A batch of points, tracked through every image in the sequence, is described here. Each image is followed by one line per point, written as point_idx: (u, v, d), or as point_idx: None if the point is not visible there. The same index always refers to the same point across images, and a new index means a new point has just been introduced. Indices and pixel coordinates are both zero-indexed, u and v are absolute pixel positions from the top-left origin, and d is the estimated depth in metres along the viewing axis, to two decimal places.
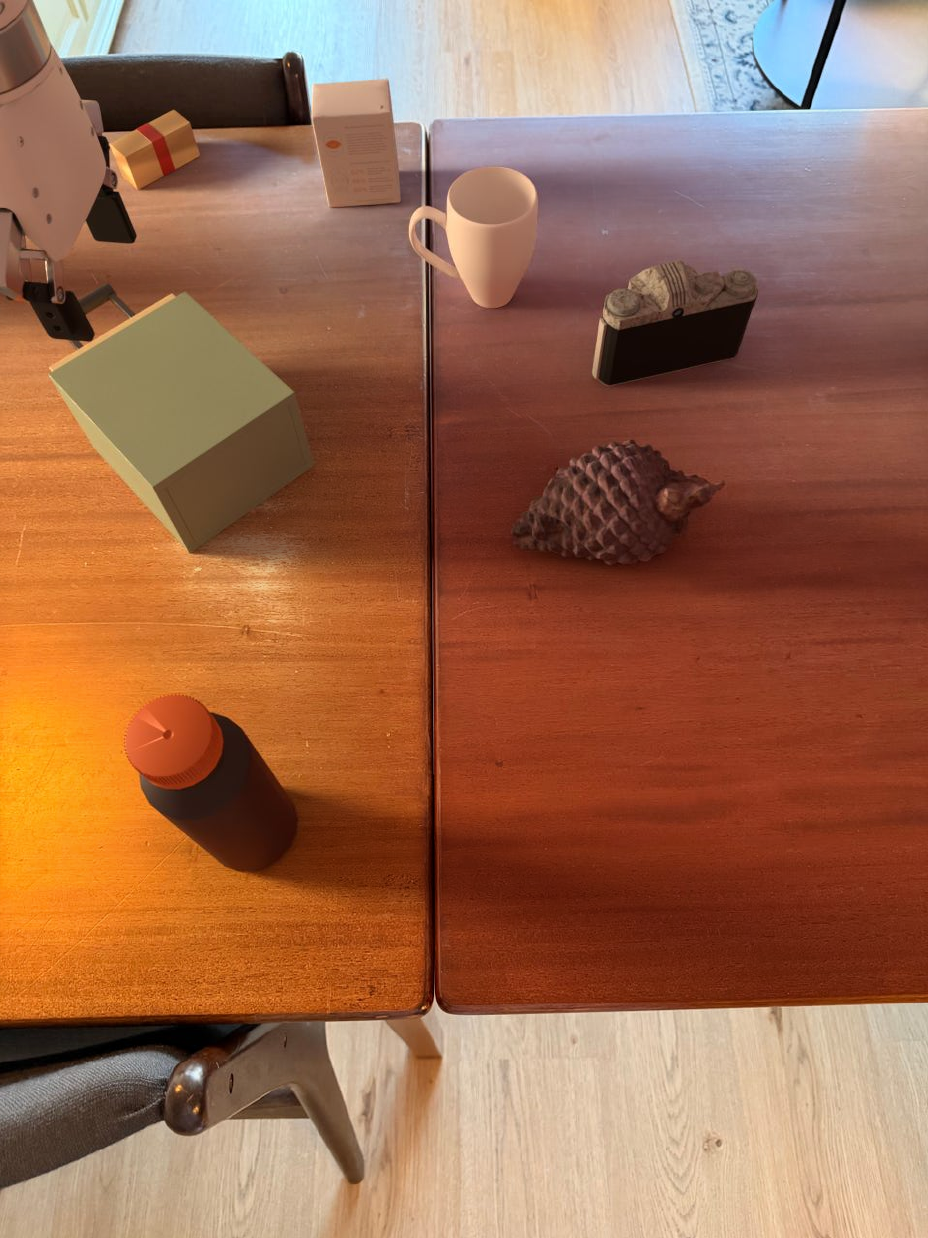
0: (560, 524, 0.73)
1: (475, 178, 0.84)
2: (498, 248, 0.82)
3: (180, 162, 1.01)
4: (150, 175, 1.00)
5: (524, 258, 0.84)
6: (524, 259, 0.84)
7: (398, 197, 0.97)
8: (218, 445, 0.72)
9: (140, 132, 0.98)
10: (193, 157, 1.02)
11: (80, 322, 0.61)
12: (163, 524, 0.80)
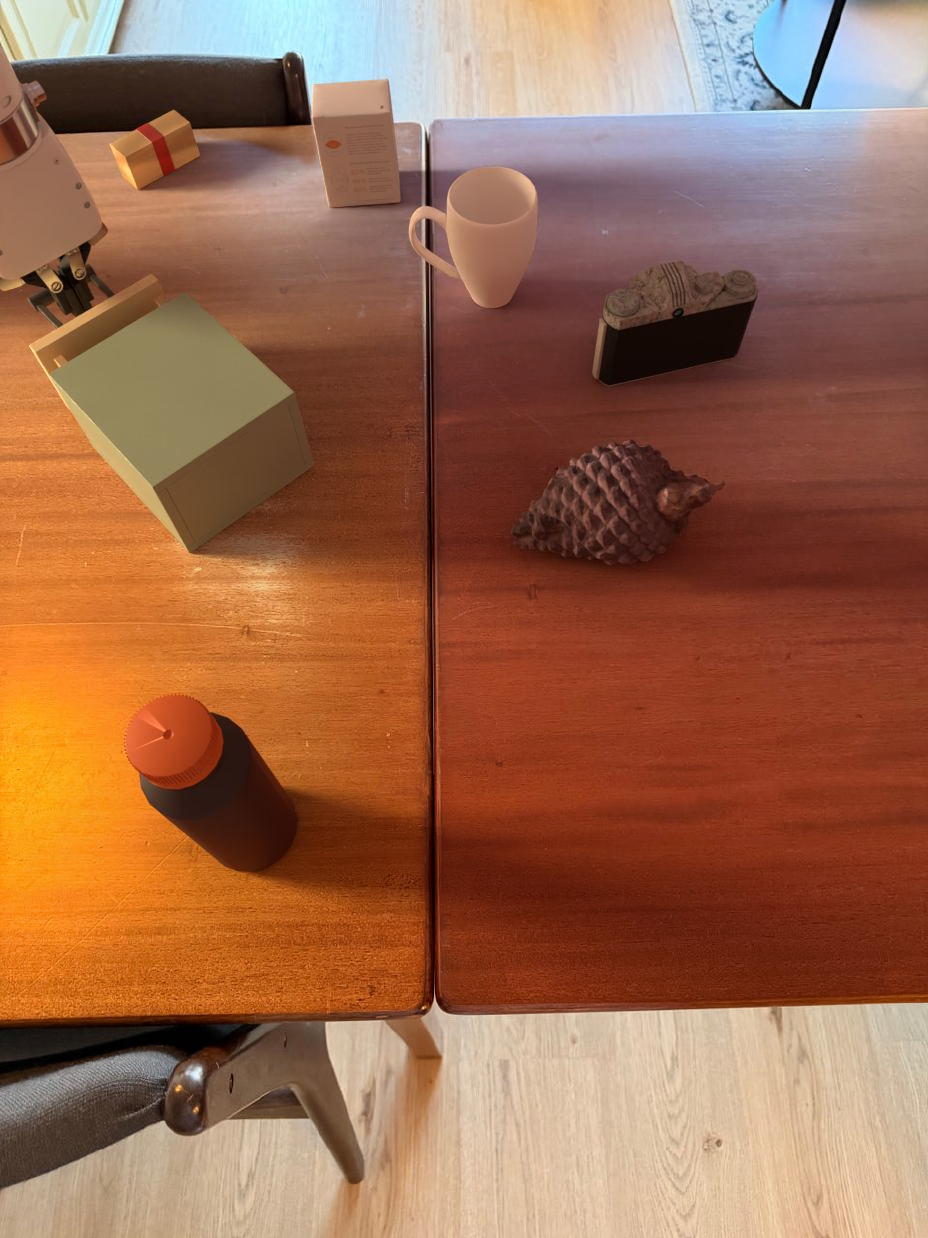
0: (560, 524, 0.73)
1: (475, 178, 0.84)
2: (498, 248, 0.82)
3: (180, 162, 1.01)
4: (150, 175, 1.00)
5: (524, 258, 0.84)
6: (524, 259, 0.84)
7: (398, 197, 0.97)
8: (218, 445, 0.72)
9: (140, 132, 0.98)
10: (193, 157, 1.02)
11: (73, 308, 0.82)
12: (163, 524, 0.80)
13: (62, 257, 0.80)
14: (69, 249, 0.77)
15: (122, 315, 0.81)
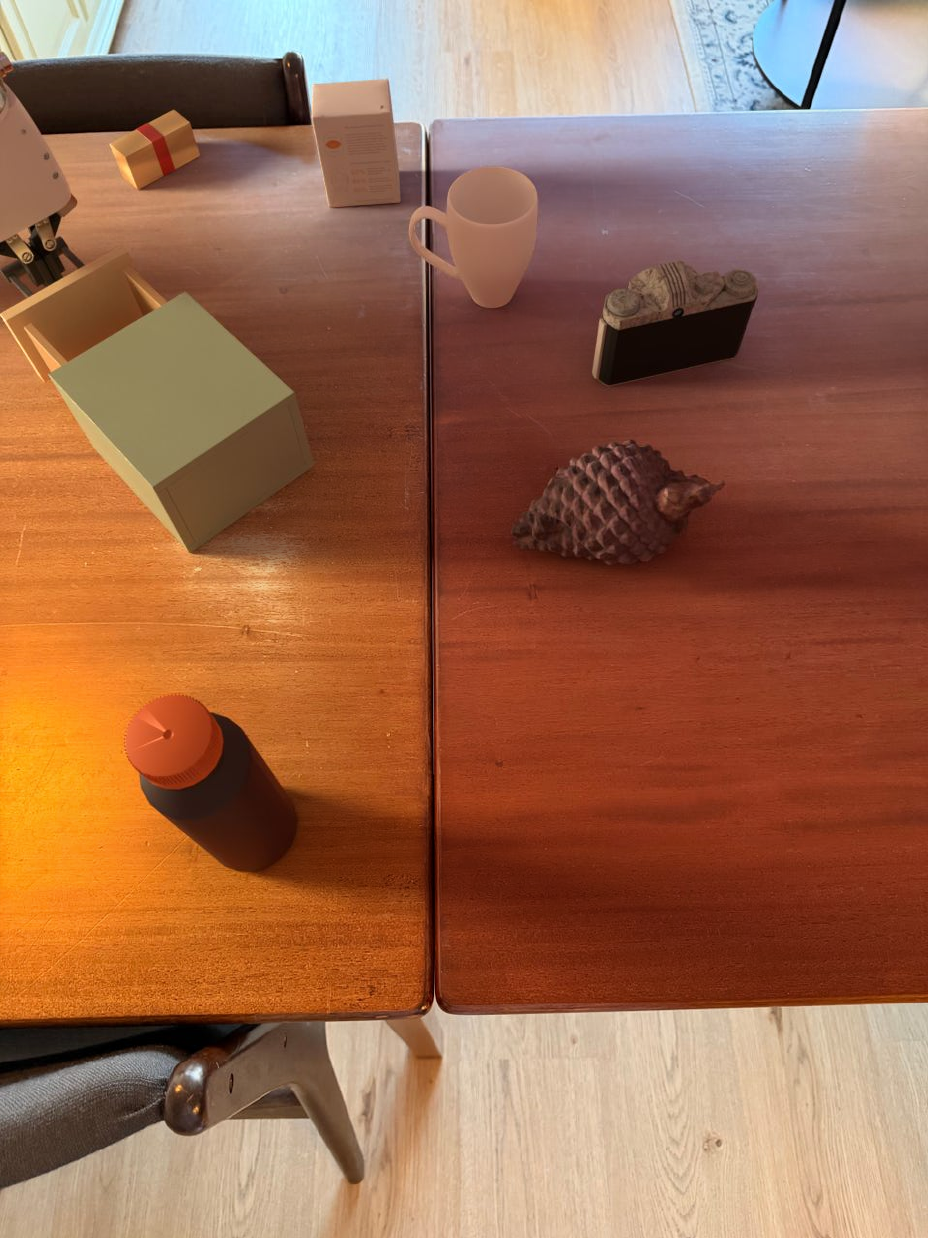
0: (560, 524, 0.73)
1: (475, 178, 0.84)
2: (498, 248, 0.82)
3: (180, 162, 1.01)
4: (150, 175, 1.00)
5: (524, 258, 0.84)
6: (524, 259, 0.84)
7: (398, 197, 0.97)
8: (218, 445, 0.72)
9: (140, 132, 0.98)
10: (193, 157, 1.02)
11: (44, 279, 0.84)
12: (163, 524, 0.80)
13: (33, 228, 0.82)
14: (38, 219, 0.79)
15: (92, 285, 0.83)
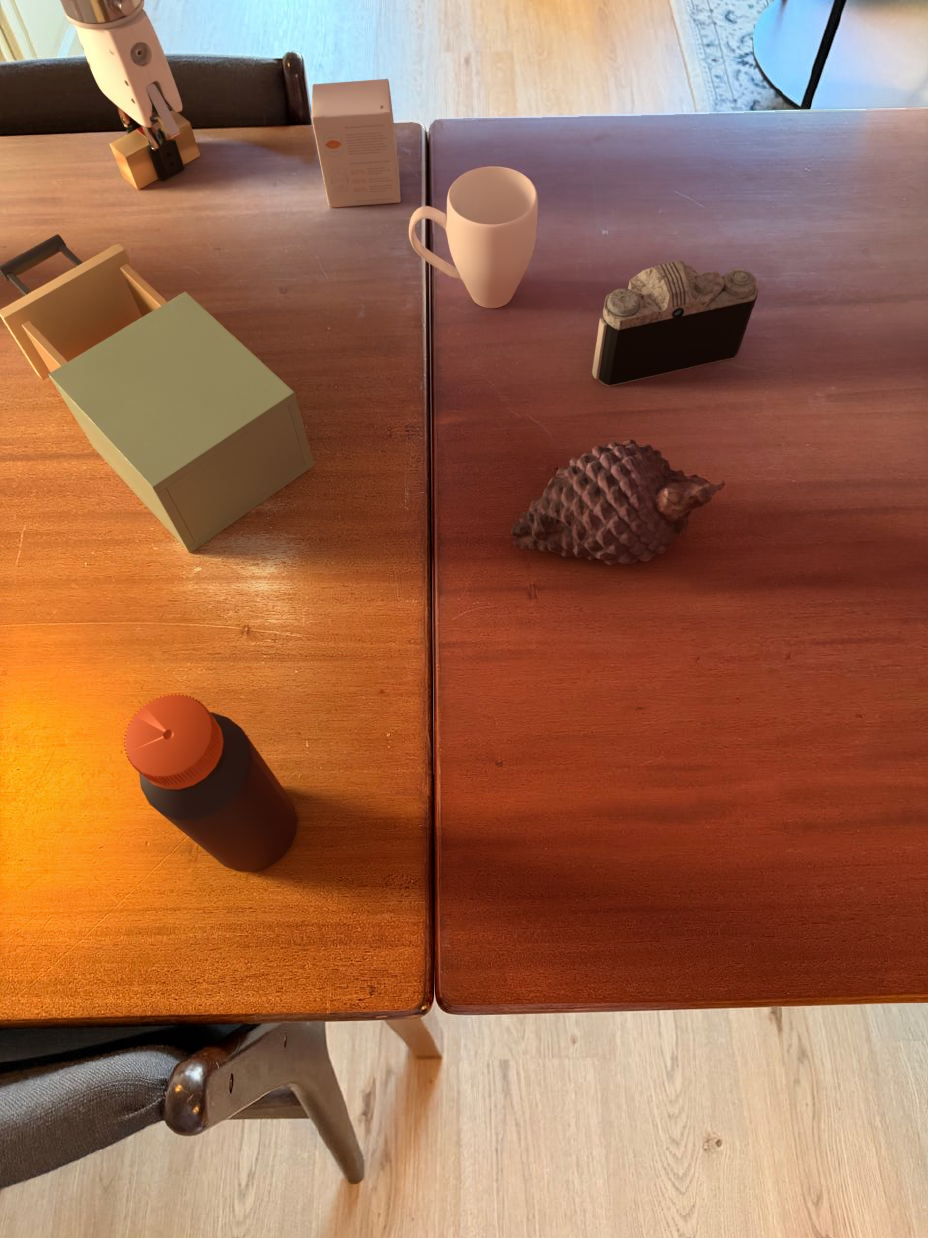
0: (560, 524, 0.73)
1: (475, 178, 0.84)
2: (498, 248, 0.82)
3: None
4: (150, 175, 1.00)
5: (524, 258, 0.84)
6: (524, 259, 0.84)
7: (398, 197, 0.97)
8: (218, 445, 0.72)
9: (140, 132, 0.98)
10: (193, 157, 1.02)
11: None
12: (163, 524, 0.80)
13: None
14: (128, 113, 0.94)
15: (90, 283, 0.83)
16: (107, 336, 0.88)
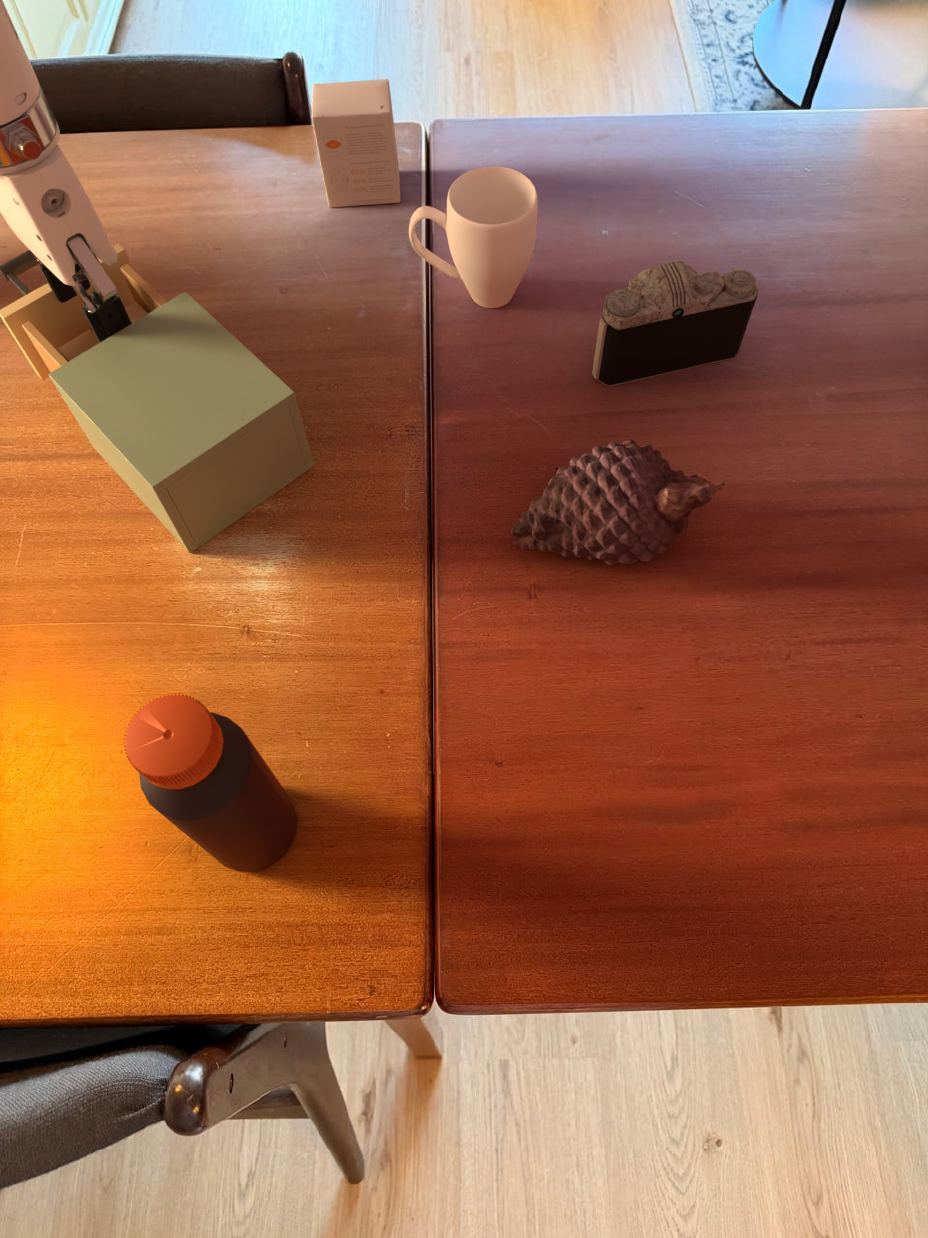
0: (560, 524, 0.73)
1: (475, 178, 0.84)
2: (498, 248, 0.82)
3: None
4: None
5: (524, 258, 0.84)
6: (524, 259, 0.84)
7: (398, 197, 0.97)
8: (218, 445, 0.72)
9: None
10: None
11: None
12: (163, 524, 0.80)
13: None
14: (46, 266, 0.73)
15: (90, 283, 0.83)
16: None
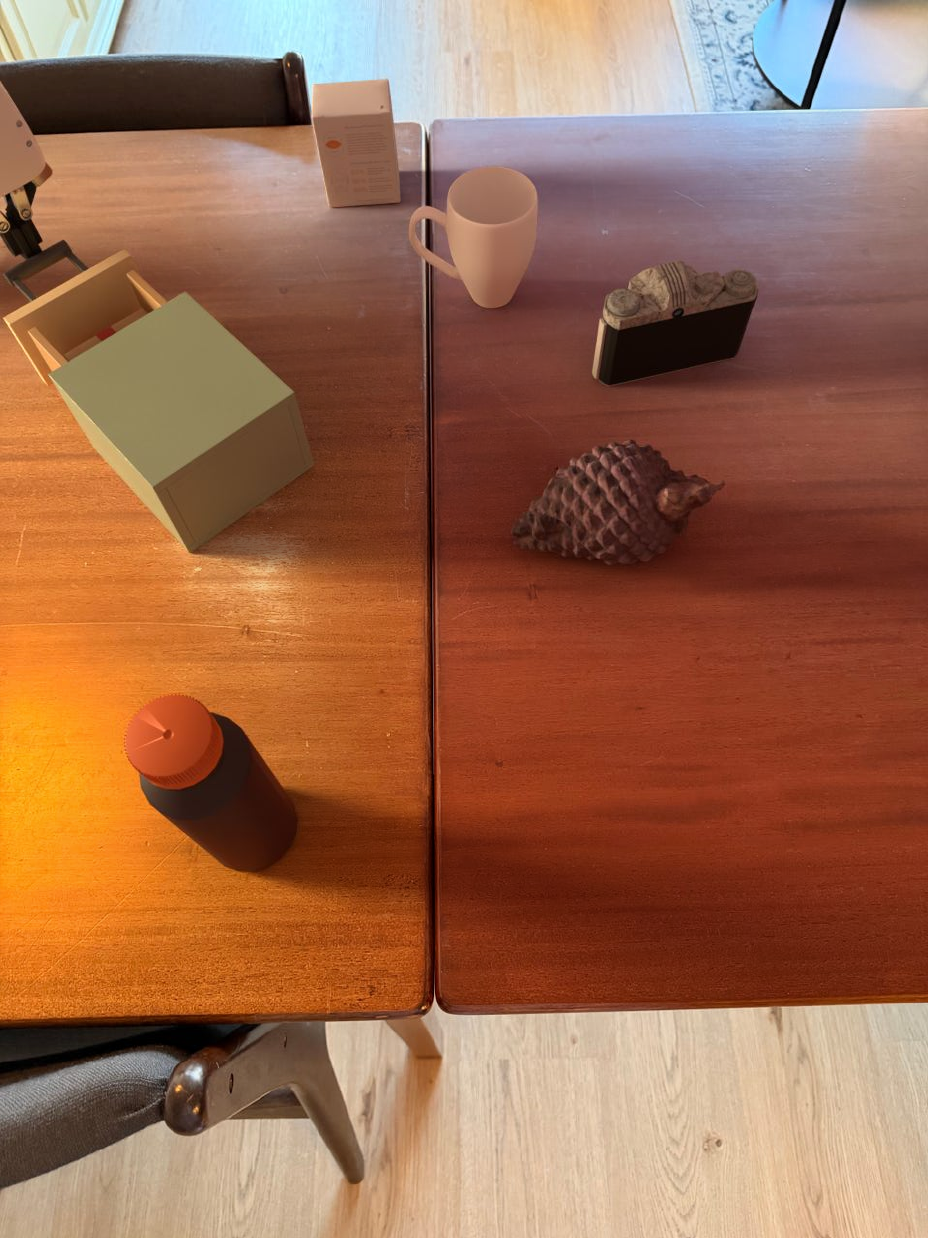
0: (560, 524, 0.73)
1: (475, 178, 0.84)
2: (498, 248, 0.82)
3: None
4: None
5: (524, 258, 0.84)
6: (524, 259, 0.84)
7: (398, 197, 0.97)
8: (218, 445, 0.72)
9: (100, 340, 0.82)
10: None
11: (22, 249, 0.84)
12: (163, 524, 0.80)
13: (9, 198, 0.83)
14: (13, 188, 0.80)
15: (96, 289, 0.83)
16: None
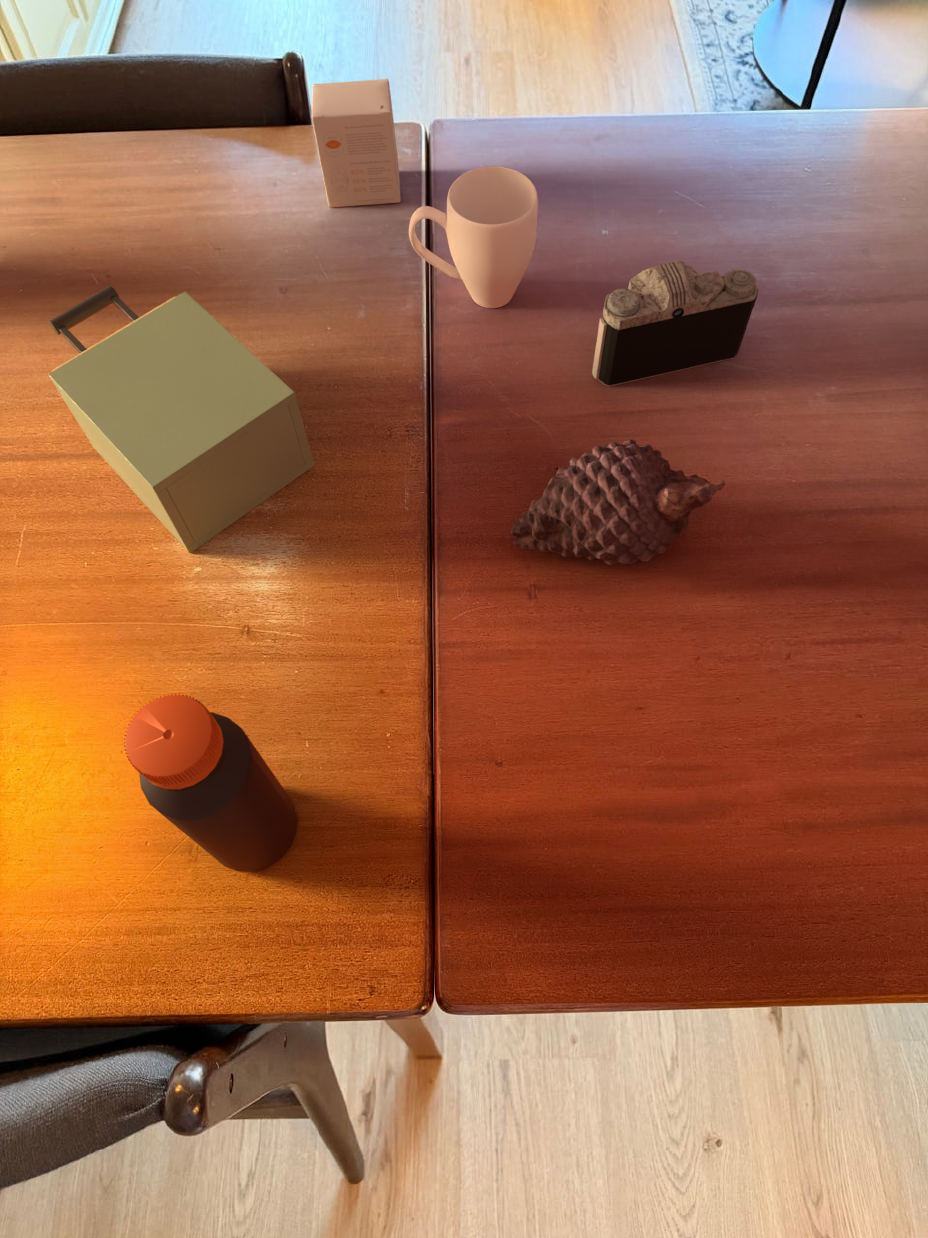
0: (560, 524, 0.73)
1: (475, 178, 0.84)
2: (498, 248, 0.82)
3: None
4: None
5: (524, 258, 0.84)
6: (524, 259, 0.84)
7: (398, 197, 0.97)
8: (218, 445, 0.72)
9: None
10: None
11: None
12: (163, 524, 0.80)
13: None
14: None
15: None
16: None
